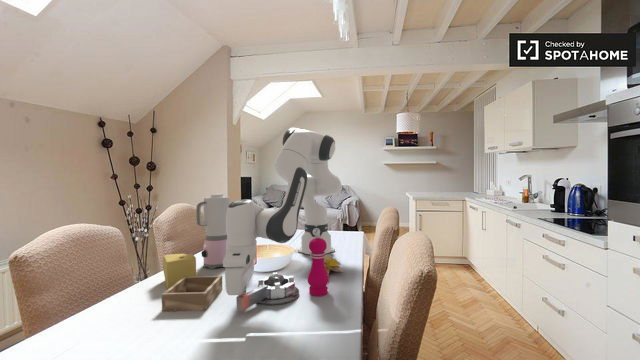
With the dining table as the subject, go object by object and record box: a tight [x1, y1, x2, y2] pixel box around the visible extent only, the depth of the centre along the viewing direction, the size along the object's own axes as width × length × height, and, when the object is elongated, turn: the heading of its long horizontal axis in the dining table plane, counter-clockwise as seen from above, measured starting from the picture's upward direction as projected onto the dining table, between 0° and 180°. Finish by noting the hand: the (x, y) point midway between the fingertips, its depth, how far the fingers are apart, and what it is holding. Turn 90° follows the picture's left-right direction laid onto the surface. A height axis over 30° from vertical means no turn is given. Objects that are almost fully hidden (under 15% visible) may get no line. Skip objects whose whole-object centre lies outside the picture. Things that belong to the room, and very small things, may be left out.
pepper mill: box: [307, 233, 330, 297], centre depth 96 cm, size 7×7×20 cm
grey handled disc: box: [235, 271, 296, 312], centre depth 90 cm, size 22×12×4 cm, turn 148°
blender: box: [195, 193, 231, 270], centre depth 126 cm, size 16×12×32 cm
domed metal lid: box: [256, 274, 300, 306], centre depth 95 cm, size 15×15×6 cm
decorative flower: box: [324, 254, 345, 275], centre depth 116 cm, size 15×11×10 cm
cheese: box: [162, 253, 197, 290], centre depth 108 cm, size 10×11×10 cm
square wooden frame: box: [161, 275, 223, 312], centre depth 92 cm, size 15×13×5 cm
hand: (242, 297), depth 88 cm, fingers closed
